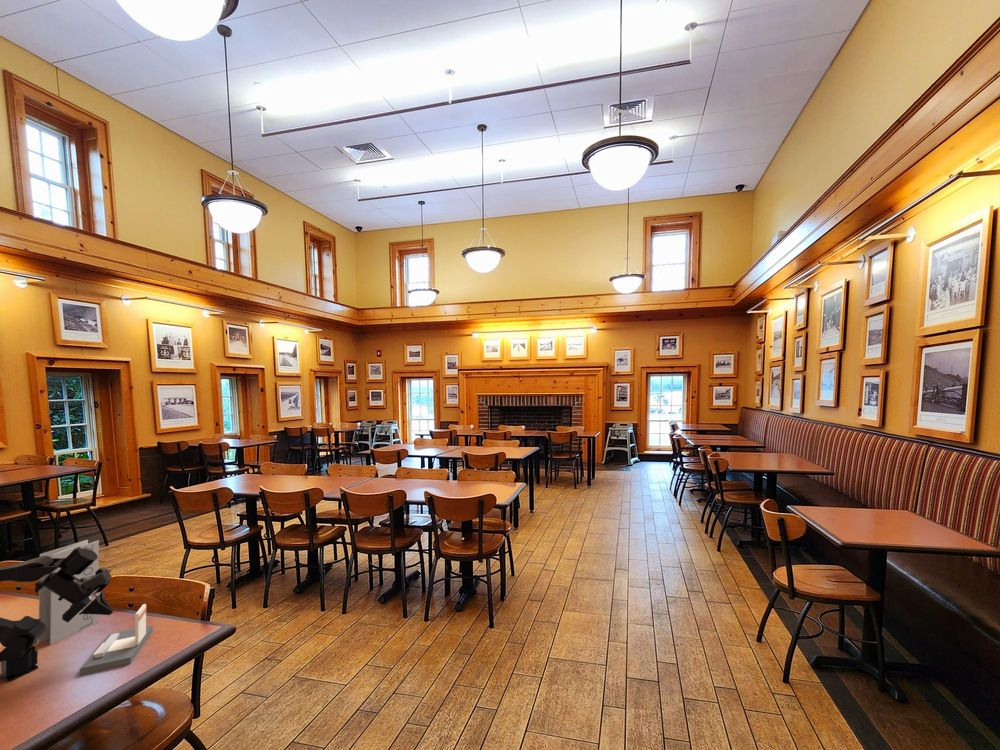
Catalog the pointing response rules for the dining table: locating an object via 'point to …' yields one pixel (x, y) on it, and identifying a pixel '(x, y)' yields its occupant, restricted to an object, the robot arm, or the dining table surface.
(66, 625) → the brochure
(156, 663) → the dining table surface
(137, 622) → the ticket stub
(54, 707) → the dining table surface
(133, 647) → the board
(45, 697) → the dining table surface
